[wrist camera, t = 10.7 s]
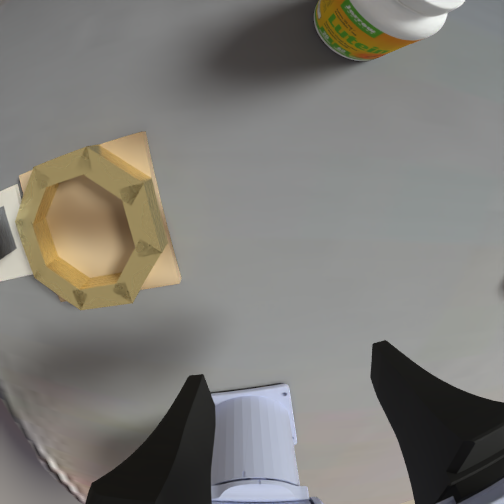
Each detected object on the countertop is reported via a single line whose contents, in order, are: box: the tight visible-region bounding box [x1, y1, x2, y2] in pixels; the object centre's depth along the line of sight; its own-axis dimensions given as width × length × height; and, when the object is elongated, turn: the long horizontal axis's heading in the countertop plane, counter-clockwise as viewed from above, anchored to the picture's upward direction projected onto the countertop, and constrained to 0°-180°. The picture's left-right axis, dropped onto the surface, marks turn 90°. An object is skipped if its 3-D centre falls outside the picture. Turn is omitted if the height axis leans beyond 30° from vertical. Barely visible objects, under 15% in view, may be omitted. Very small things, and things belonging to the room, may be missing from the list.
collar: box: [15, 145, 168, 310], centre depth 18 cm, size 10×10×2 cm
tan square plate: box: [19, 132, 181, 302], centre depth 20 cm, size 10×10×1 cm
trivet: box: [0, 184, 33, 281], centre depth 20 cm, size 7×7×1 cm
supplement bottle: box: [314, 0, 465, 61], centre depth 11 cm, size 5×5×10 cm
